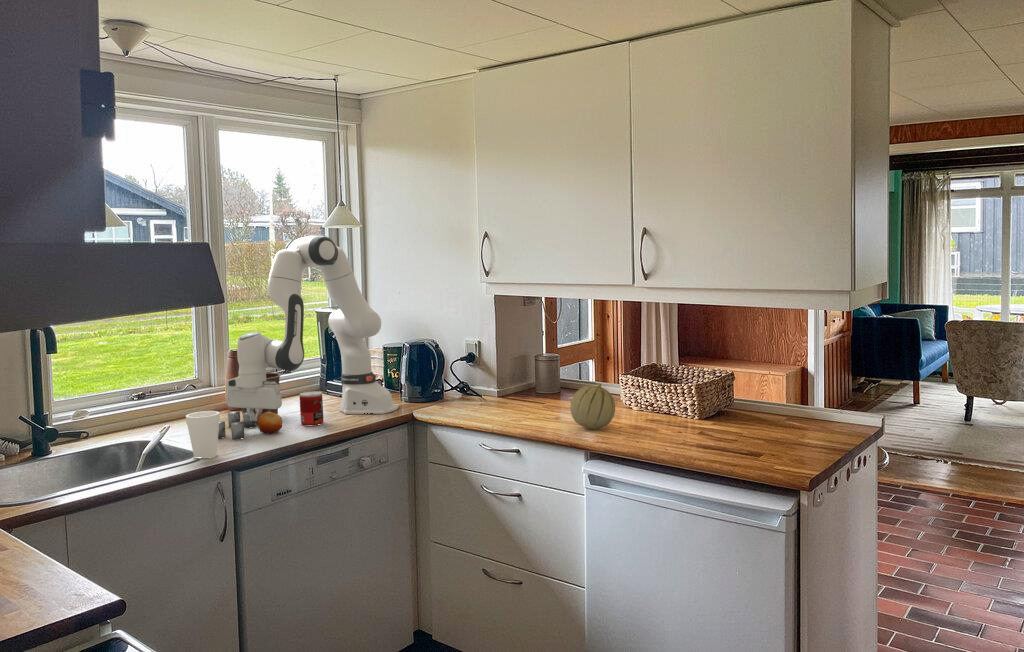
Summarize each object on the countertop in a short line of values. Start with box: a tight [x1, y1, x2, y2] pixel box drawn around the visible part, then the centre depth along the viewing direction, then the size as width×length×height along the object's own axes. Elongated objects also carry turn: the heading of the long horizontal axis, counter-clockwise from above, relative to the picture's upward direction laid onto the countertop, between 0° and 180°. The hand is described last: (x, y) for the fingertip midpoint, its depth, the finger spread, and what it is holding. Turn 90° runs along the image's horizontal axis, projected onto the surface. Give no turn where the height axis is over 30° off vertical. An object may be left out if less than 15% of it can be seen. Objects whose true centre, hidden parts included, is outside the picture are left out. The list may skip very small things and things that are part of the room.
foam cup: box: [185, 410, 221, 459], centre depth 236 cm, size 10×9×13 cm
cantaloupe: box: [569, 382, 616, 430], centre depth 257 cm, size 15×15×15 cm
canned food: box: [299, 391, 324, 426], centre depth 277 cm, size 8×8×11 cm
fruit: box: [257, 412, 283, 435], centre depth 265 cm, size 8×8×8 cm
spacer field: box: [218, 410, 266, 440], centre depth 268 cm, size 17×20×5 cm
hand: (255, 420), depth 266 cm, fingers closed
